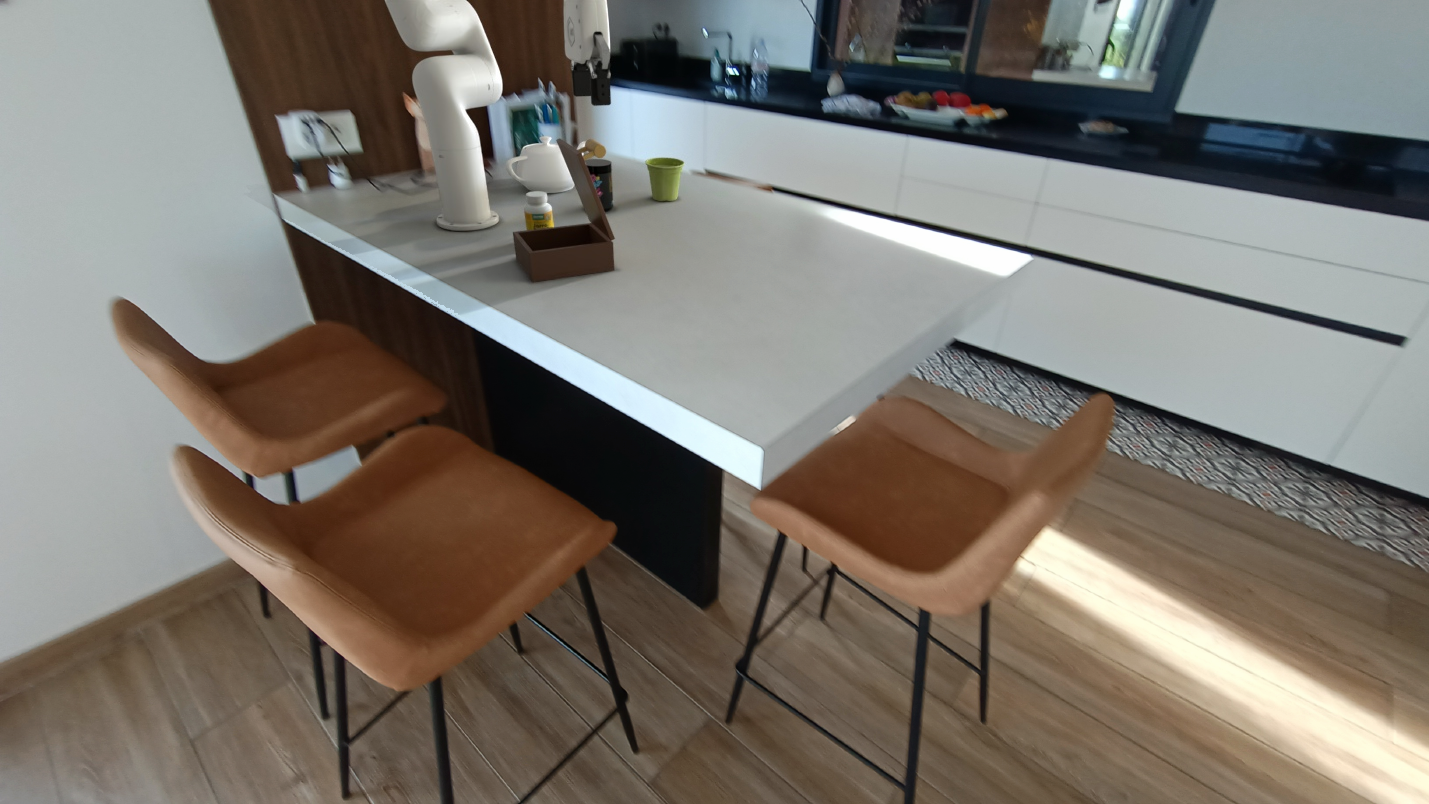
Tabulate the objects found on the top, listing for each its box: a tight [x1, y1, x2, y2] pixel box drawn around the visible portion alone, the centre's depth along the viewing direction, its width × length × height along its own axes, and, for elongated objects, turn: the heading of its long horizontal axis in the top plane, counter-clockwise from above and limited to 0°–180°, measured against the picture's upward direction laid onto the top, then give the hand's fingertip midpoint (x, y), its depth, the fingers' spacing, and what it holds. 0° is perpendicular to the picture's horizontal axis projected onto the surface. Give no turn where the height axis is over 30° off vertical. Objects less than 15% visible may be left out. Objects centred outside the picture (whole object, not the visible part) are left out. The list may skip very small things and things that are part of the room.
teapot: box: [505, 135, 587, 194], centre depth 163 cm, size 25×16×12 cm, turn 139°
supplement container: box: [584, 158, 614, 213], centre depth 150 cm, size 7×7×10 cm
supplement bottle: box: [523, 191, 555, 230], centre depth 130 cm, size 5×5×10 cm
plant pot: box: [644, 157, 685, 202], centre depth 160 cm, size 9×9×9 cm
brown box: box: [512, 222, 615, 283], centre depth 121 cm, size 15×12×5 cm
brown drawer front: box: [555, 138, 616, 242], centre depth 118 cm, size 16×12×6 cm
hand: (591, 100), depth 111 cm, fingers open, 9 cm apart
